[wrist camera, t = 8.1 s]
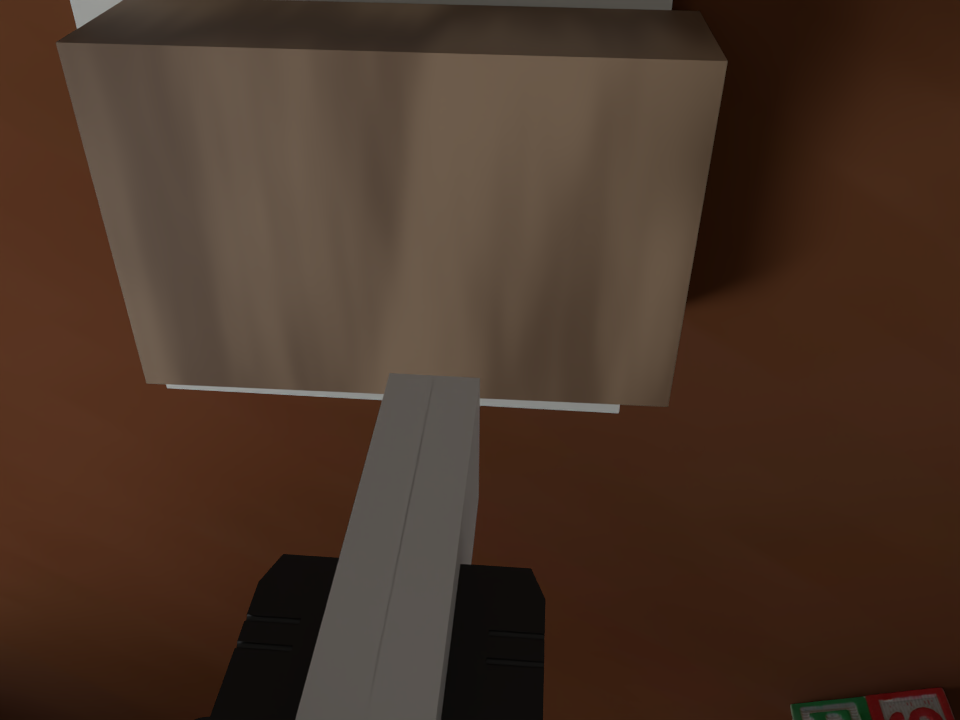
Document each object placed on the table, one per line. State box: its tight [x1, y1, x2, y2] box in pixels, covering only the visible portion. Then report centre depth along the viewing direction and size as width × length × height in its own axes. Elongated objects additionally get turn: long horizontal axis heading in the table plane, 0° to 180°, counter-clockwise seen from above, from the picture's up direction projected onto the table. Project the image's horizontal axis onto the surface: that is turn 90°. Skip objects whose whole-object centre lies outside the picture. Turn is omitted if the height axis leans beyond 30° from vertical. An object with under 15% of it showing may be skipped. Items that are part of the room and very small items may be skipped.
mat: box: [70, 0, 673, 413], centre depth 24 cm, size 15×16×1 cm
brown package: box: [56, 0, 728, 407], centre depth 22 cm, size 4×9×14 cm
